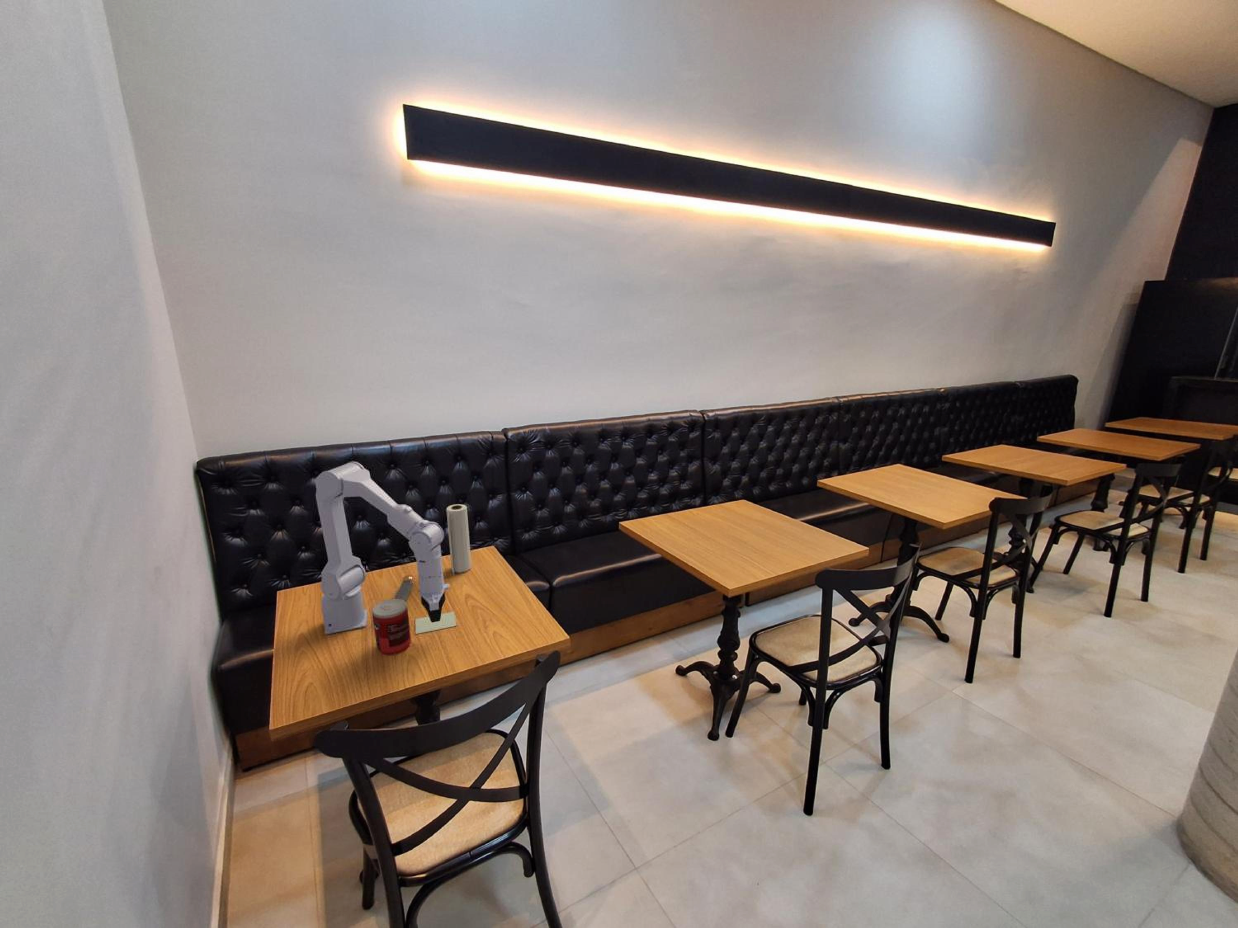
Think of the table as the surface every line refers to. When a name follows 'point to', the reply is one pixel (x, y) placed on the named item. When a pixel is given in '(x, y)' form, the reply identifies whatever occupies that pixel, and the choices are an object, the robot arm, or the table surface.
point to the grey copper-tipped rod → (405, 588)
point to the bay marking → (435, 623)
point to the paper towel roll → (458, 538)
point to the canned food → (391, 626)
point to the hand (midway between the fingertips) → (435, 620)
